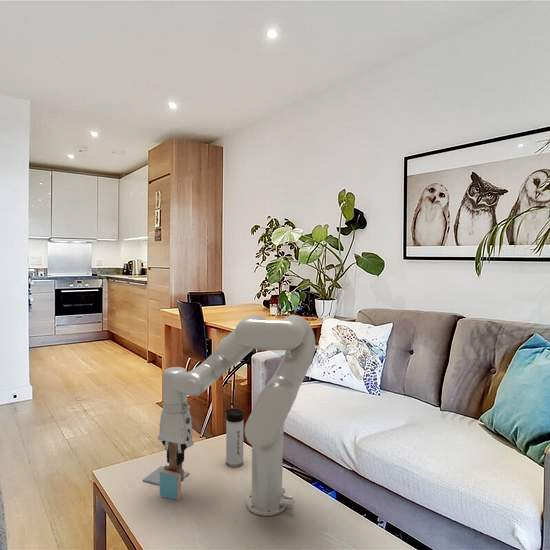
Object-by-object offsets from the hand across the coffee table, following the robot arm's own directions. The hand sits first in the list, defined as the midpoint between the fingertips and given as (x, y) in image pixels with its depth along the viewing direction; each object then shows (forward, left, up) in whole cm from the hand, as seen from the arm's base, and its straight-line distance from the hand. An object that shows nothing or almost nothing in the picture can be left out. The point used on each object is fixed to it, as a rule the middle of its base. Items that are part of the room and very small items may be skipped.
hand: (175, 461), depth 138 cm
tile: (0, +3, -10) cm, 11 cm away
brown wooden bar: (0, 0, -5) cm, 5 cm away
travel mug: (-9, -24, -10) cm, 28 cm away
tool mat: (+8, -6, -10) cm, 14 cm away
